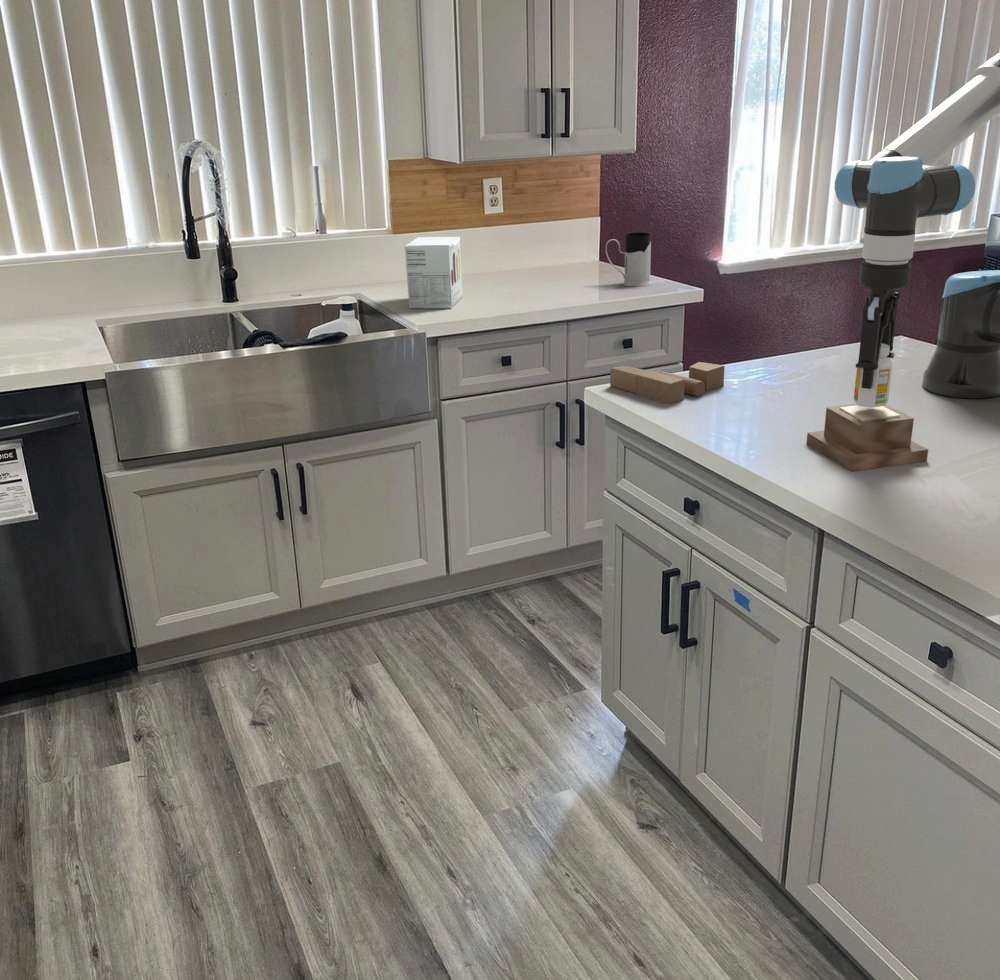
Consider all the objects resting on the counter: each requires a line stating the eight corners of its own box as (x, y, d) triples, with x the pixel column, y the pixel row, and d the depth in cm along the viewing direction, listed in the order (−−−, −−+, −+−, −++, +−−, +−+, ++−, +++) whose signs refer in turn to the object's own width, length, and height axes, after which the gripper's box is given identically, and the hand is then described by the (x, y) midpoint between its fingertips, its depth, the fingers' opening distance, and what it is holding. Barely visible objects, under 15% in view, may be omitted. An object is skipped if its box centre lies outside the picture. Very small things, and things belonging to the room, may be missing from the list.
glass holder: (652, 286, 304) (653, 236, 299) (605, 287, 306) (605, 237, 300) (650, 280, 312) (651, 231, 307) (605, 281, 314) (605, 233, 308)
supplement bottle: (860, 395, 170) (866, 340, 166) (892, 401, 166) (899, 344, 163) (848, 404, 166) (854, 347, 162) (880, 409, 163) (887, 351, 159)
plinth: (877, 434, 177) (882, 394, 174) (926, 460, 165) (932, 419, 162) (806, 443, 174) (809, 403, 171) (851, 471, 162) (855, 428, 159)
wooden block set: (673, 379, 195) (608, 363, 208) (672, 407, 197) (608, 389, 210) (728, 362, 205) (663, 347, 218) (727, 388, 207) (662, 372, 220)
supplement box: (453, 309, 286) (449, 245, 279) (408, 309, 288) (403, 245, 281) (464, 296, 301) (461, 235, 294) (421, 296, 304) (417, 236, 297)
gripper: (876, 249, 166) (862, 383, 175) (845, 268, 152) (832, 413, 161) (924, 252, 162) (907, 389, 171) (897, 272, 148) (880, 420, 157)
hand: (870, 400), depth 166 cm, fingers closed on supplement bottle, 5 cm apart
